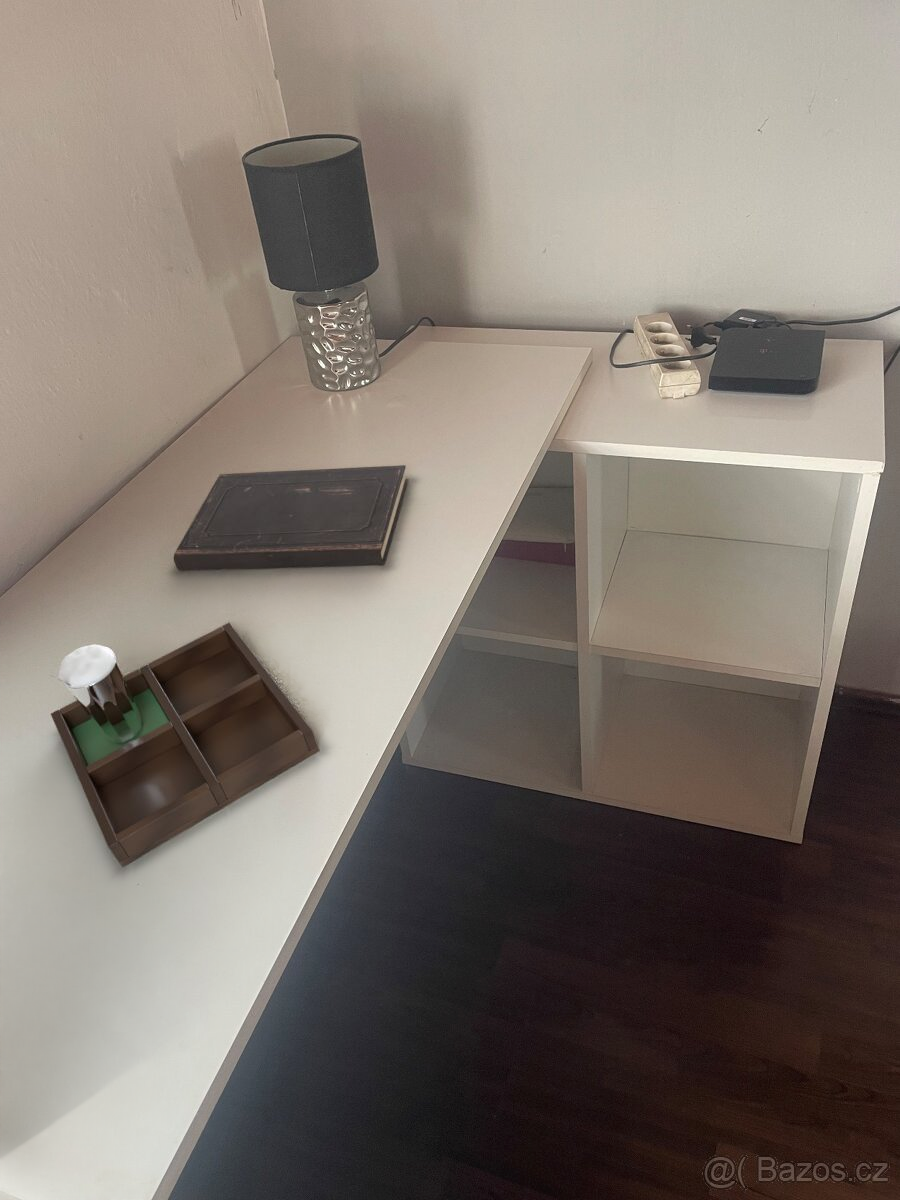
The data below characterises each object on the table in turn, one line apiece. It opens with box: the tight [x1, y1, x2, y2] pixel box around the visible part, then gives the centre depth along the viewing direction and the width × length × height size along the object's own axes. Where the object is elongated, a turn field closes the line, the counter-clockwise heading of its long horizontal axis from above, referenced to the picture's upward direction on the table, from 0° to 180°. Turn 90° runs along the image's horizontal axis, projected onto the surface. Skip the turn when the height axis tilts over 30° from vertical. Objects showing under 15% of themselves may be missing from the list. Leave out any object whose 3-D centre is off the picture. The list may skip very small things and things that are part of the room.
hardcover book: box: [173, 464, 409, 572], centre depth 97 cm, size 16×23×2 cm
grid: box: [50, 621, 320, 868], centre depth 74 cm, size 17×17×3 cm
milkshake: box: [50, 644, 142, 743], centre depth 73 cm, size 5×5×10 cm
